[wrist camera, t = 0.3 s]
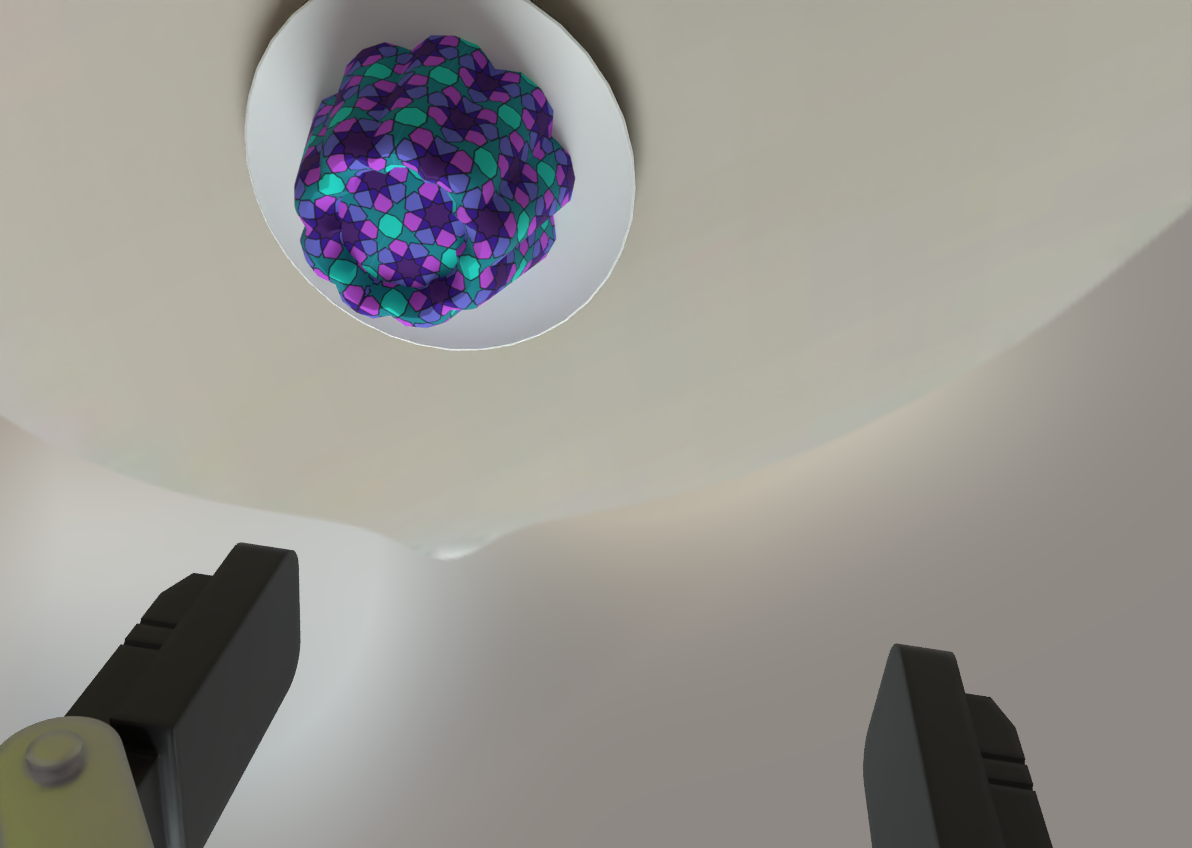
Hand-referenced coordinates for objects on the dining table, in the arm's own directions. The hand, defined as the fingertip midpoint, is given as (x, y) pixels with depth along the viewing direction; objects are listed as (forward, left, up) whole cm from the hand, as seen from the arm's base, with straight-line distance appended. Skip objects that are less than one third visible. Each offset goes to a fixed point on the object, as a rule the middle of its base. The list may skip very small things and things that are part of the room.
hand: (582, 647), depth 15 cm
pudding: (+6, -5, -22) cm, 23 cm away
